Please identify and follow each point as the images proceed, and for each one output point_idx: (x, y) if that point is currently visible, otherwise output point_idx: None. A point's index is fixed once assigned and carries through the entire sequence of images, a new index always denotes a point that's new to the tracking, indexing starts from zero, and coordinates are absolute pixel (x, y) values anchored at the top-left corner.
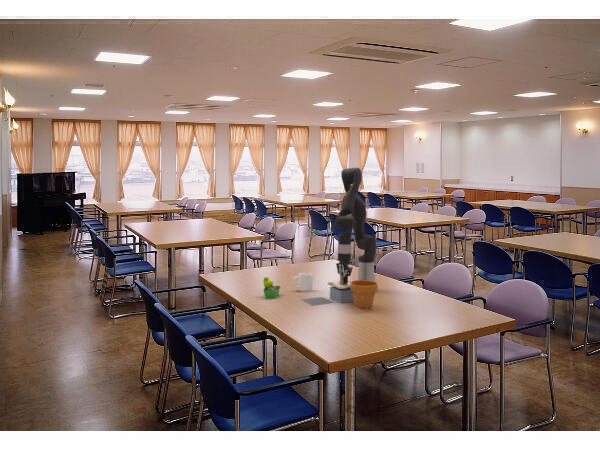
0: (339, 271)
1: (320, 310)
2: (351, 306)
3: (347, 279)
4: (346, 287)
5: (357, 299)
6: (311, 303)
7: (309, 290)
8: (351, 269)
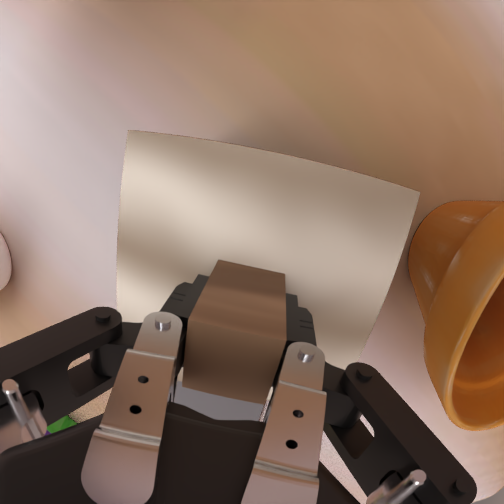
0: (102, 373)
1: (324, 439)
2: (398, 304)
3: (313, 337)
4: (357, 354)
5: (469, 339)
6: (218, 419)
7: (7, 260)
8: (447, 471)
